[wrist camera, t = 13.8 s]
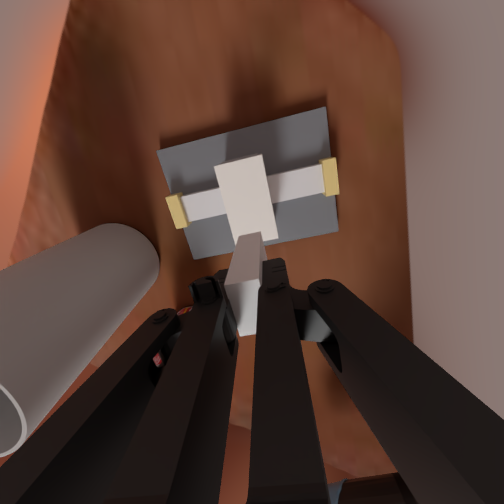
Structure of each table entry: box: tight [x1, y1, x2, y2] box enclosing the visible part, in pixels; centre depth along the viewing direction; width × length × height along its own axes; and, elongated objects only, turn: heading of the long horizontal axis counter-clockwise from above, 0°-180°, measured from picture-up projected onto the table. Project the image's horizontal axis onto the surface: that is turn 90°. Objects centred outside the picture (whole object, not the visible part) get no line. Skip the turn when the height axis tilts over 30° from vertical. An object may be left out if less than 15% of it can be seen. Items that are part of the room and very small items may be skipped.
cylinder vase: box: [0, 223, 159, 457], centre depth 29 cm, size 12×12×25 cm
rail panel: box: [156, 107, 339, 260], centre depth 33 cm, size 16×22×4 cm
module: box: [214, 153, 278, 246], centre depth 30 cm, size 9×5×8 cm, turn 13°
